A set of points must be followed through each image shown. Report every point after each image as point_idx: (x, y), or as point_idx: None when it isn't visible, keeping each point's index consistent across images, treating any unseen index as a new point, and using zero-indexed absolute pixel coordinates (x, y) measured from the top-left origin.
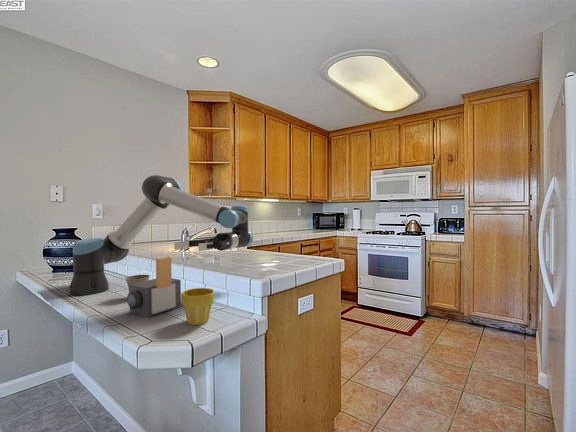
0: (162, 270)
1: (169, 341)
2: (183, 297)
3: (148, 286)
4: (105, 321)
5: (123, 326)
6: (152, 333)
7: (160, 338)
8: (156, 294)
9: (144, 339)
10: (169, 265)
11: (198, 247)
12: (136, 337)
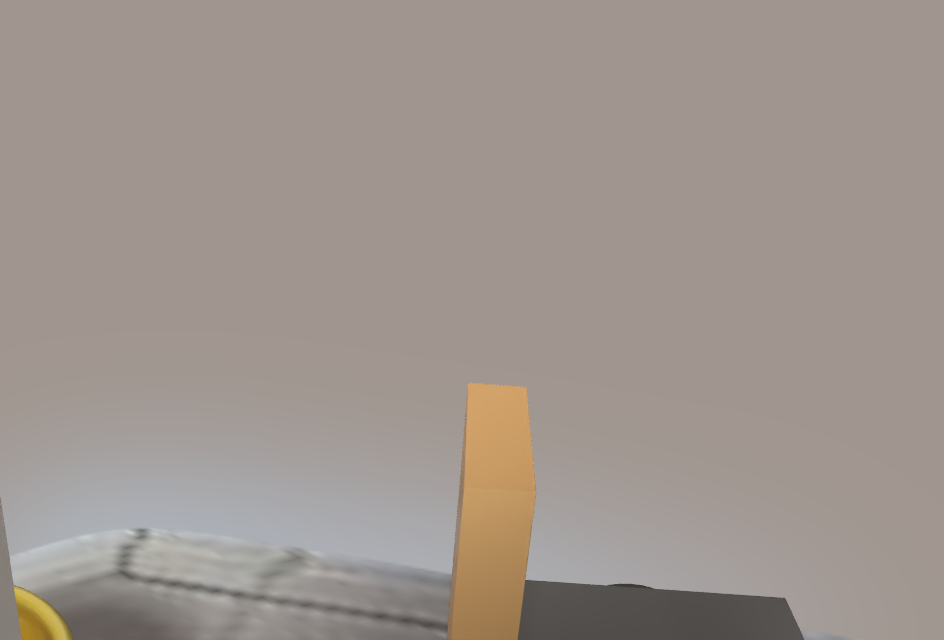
0: (456, 539)
1: None
2: None
3: (546, 614)
4: None
5: None
6: (193, 625)
7: (93, 603)
8: None
9: (179, 571)
10: (456, 569)
11: (13, 585)
12: (244, 570)
